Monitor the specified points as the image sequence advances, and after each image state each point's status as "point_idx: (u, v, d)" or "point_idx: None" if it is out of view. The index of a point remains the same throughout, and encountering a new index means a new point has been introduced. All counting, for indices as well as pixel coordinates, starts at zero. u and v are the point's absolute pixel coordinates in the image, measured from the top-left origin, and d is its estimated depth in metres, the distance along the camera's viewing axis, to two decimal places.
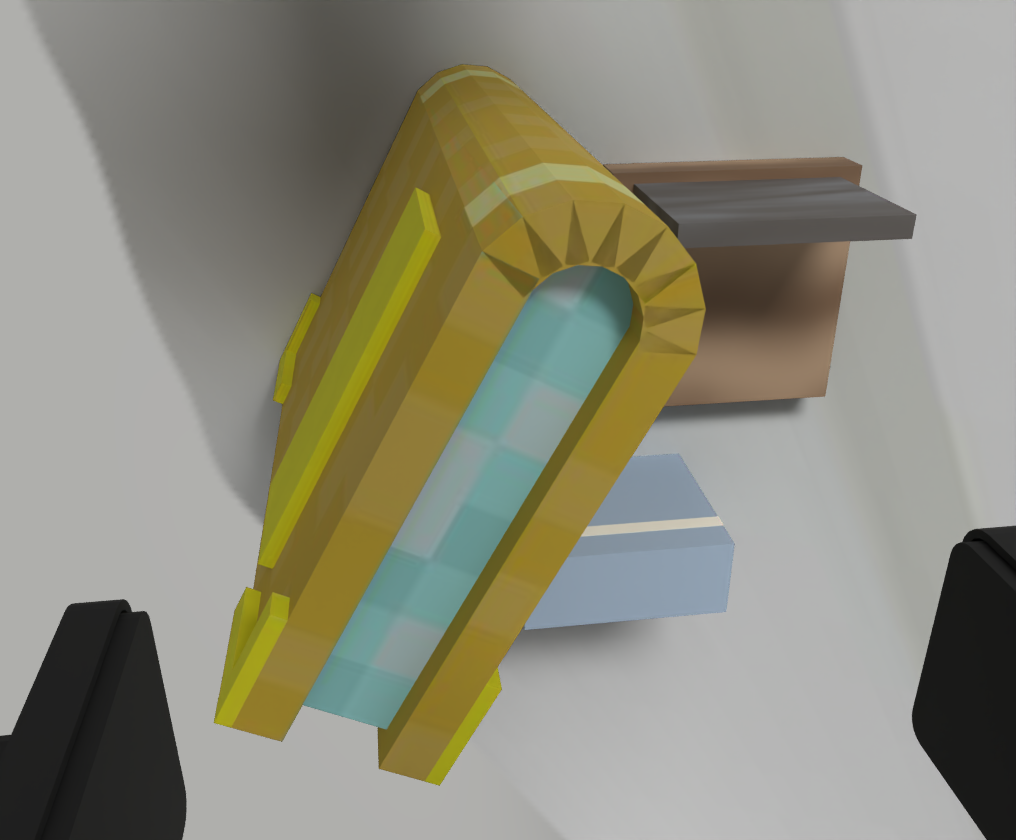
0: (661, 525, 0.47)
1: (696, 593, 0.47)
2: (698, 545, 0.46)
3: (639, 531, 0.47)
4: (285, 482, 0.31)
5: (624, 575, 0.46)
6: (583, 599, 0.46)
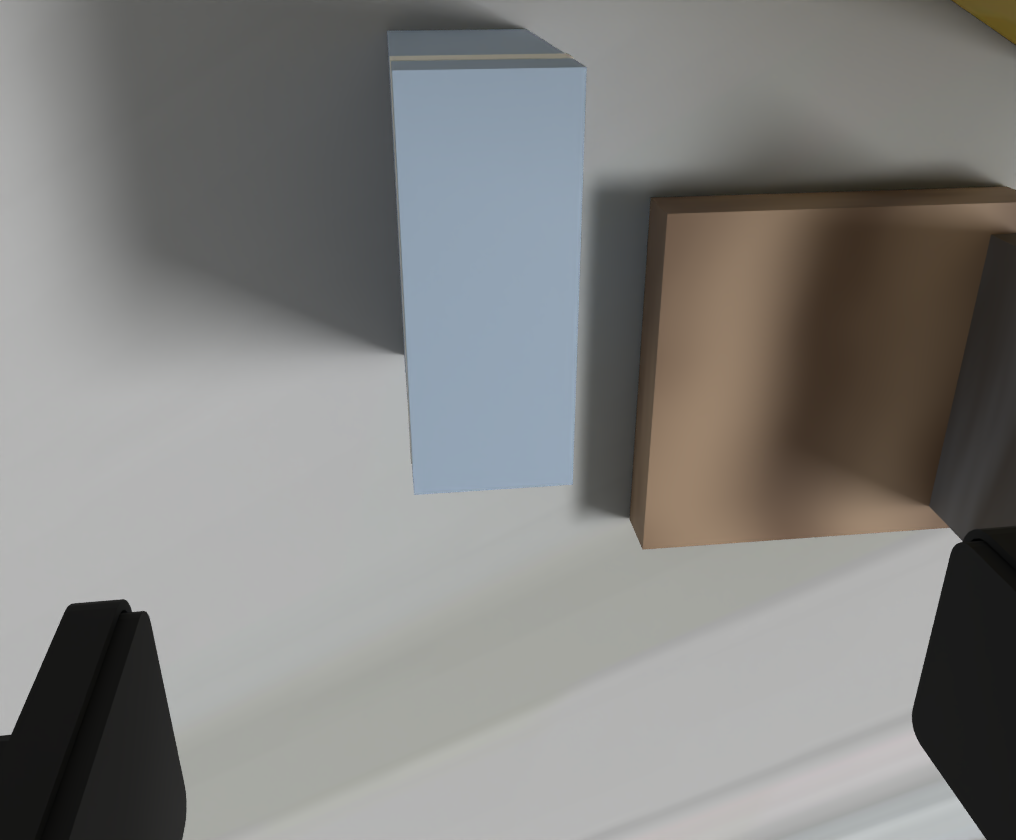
0: None
1: (463, 434, 0.23)
2: None
3: None
4: None
5: (522, 288, 0.22)
6: (468, 205, 0.21)
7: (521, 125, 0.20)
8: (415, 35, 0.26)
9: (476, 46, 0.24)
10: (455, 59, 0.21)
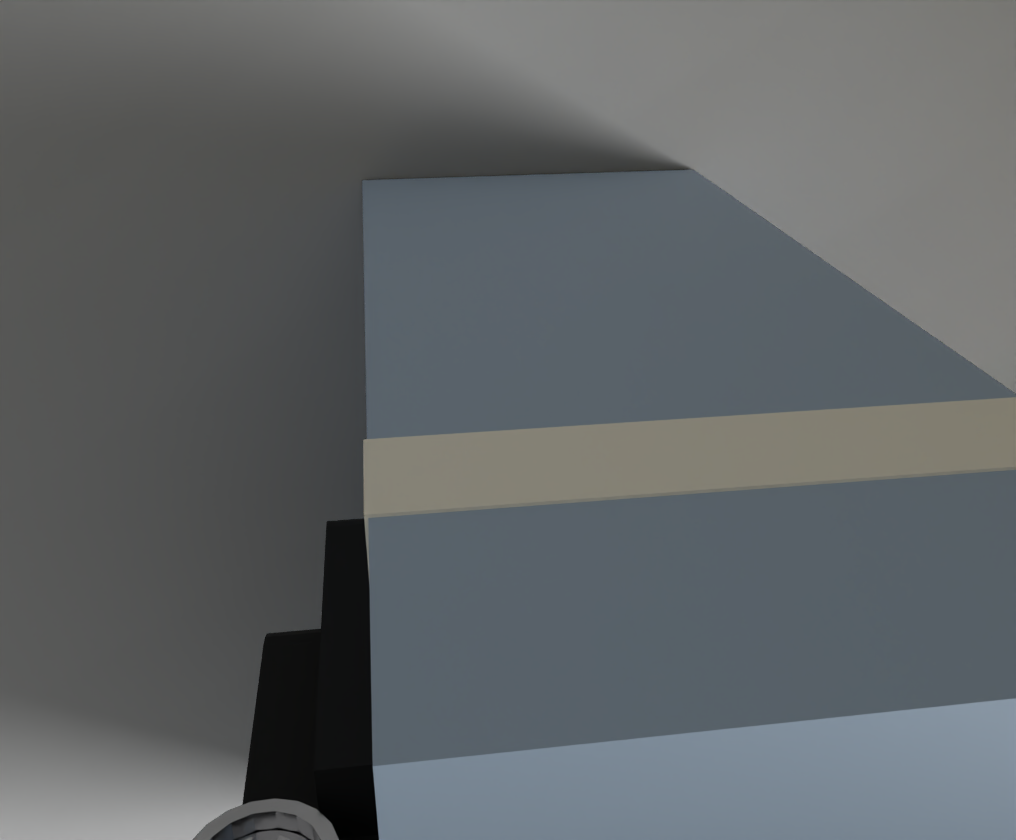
0: None
1: None
2: None
3: None
4: None
5: None
6: None
7: None
8: (436, 212, 0.10)
9: (641, 304, 0.07)
10: (646, 494, 0.05)
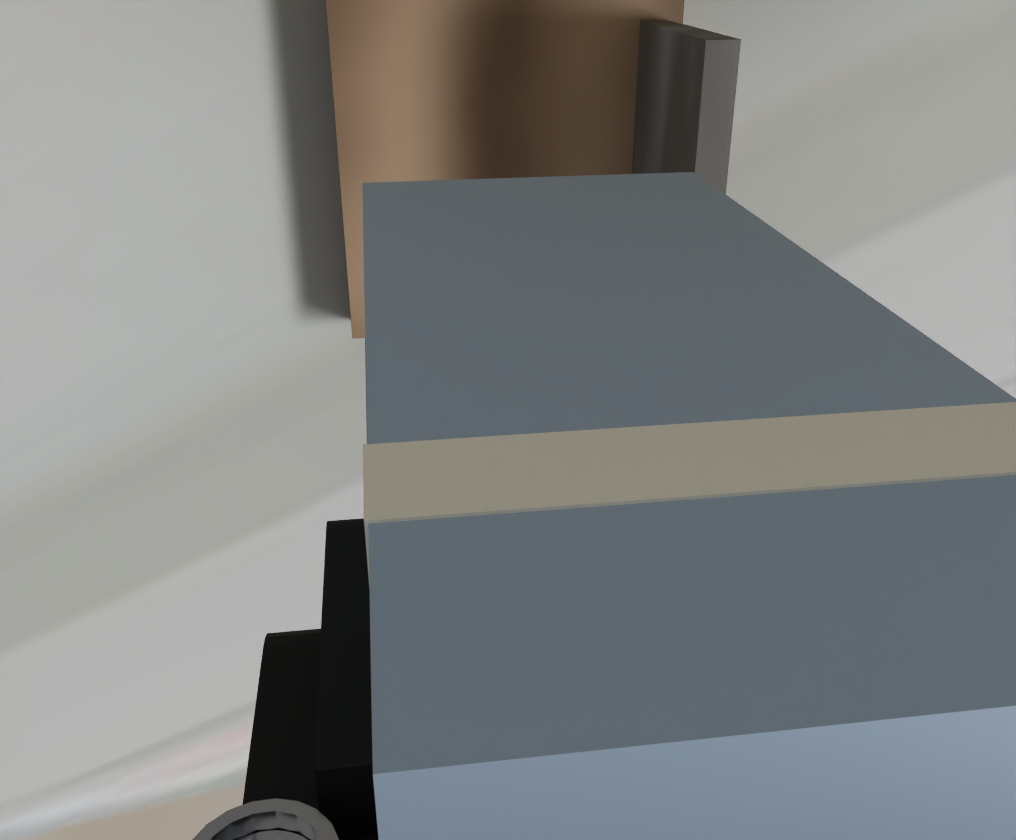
0: None
1: None
2: None
3: None
4: None
5: None
6: None
7: None
8: (436, 215, 0.10)
9: (641, 308, 0.07)
10: (646, 499, 0.05)
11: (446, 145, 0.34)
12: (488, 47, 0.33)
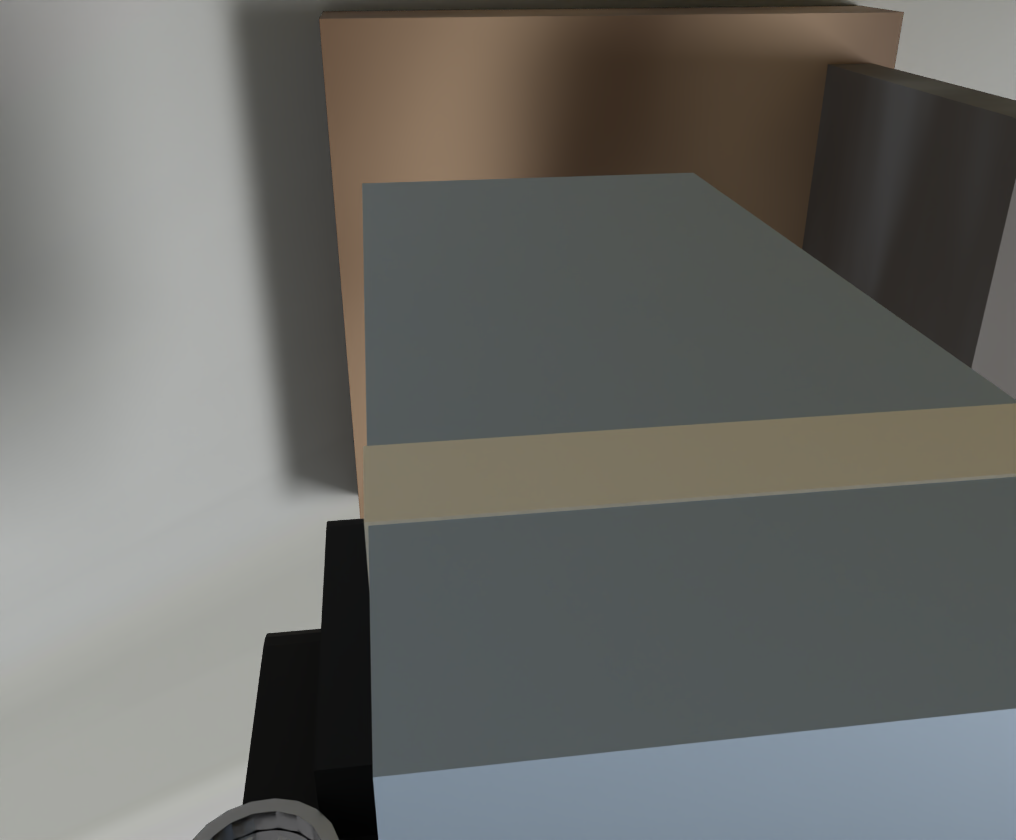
0: None
1: None
2: None
3: None
4: None
5: None
6: None
7: None
8: (436, 216, 0.10)
9: (641, 309, 0.07)
10: (646, 500, 0.05)
11: None
12: (584, 107, 0.20)
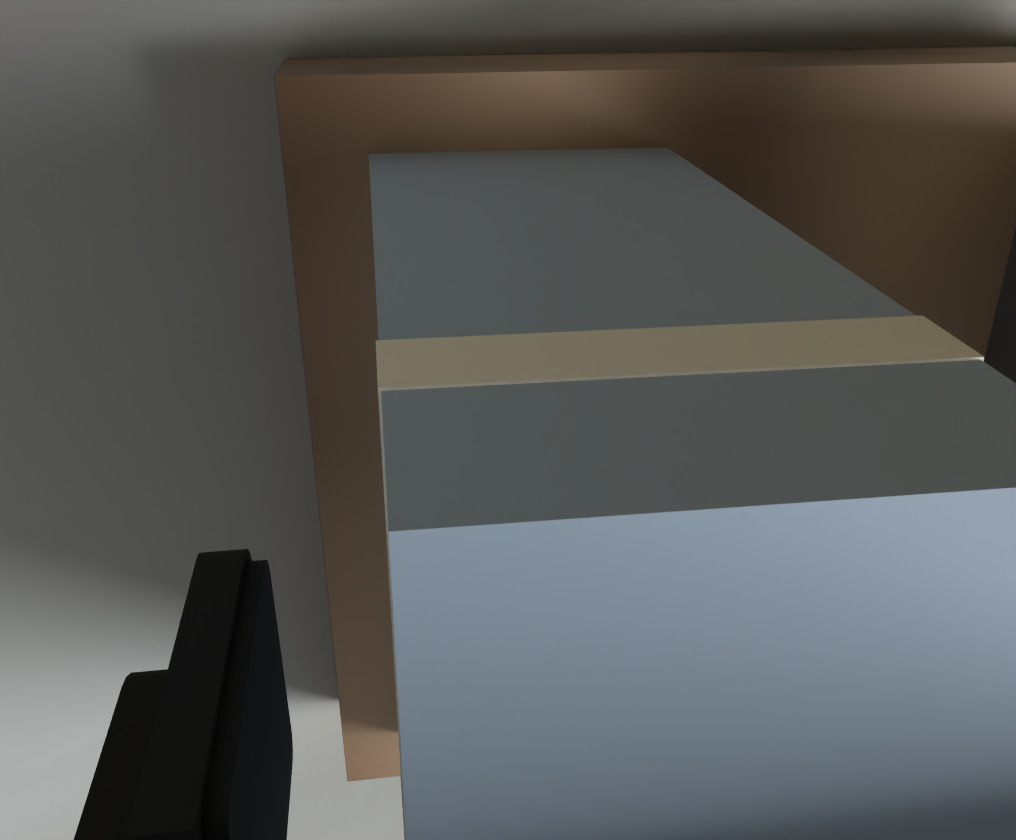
0: None
1: None
2: None
3: None
4: None
5: None
6: None
7: (874, 669, 0.05)
8: (435, 179, 0.11)
9: (611, 249, 0.09)
10: (602, 376, 0.06)
11: None
12: None
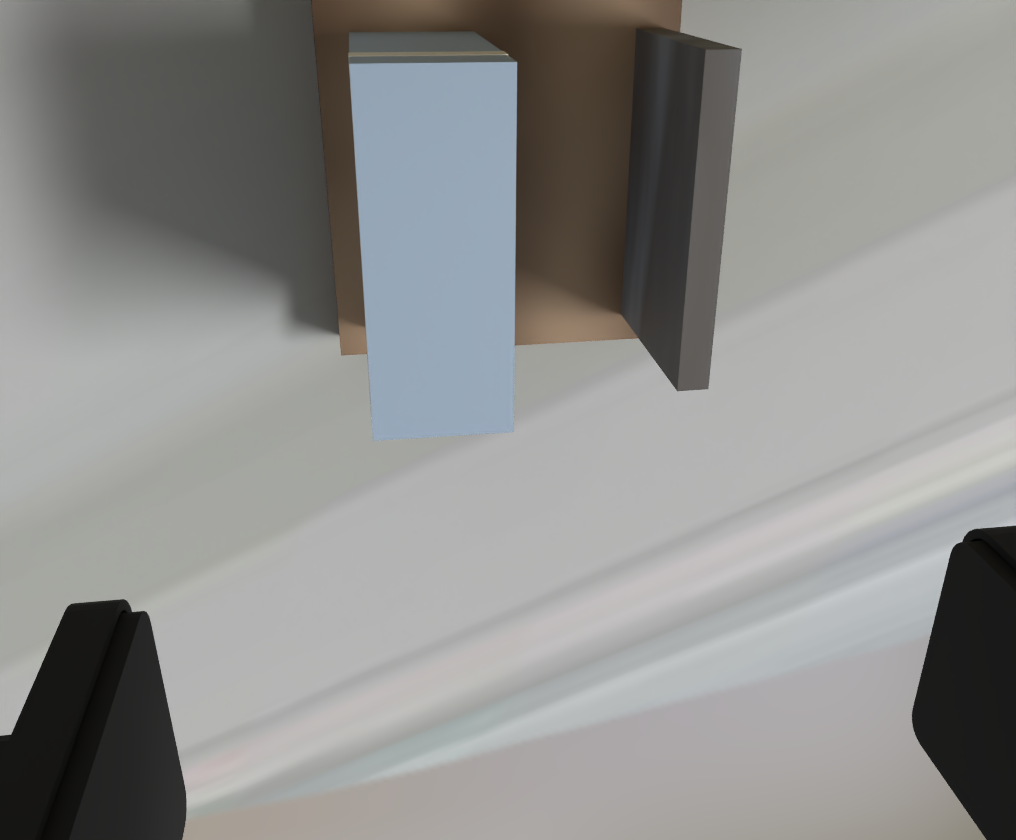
0: None
1: (416, 385, 0.27)
2: None
3: None
4: None
5: (465, 255, 0.25)
6: (417, 181, 0.24)
7: (462, 112, 0.24)
8: (373, 36, 0.29)
9: (426, 45, 0.27)
10: (405, 55, 0.24)
11: None
12: None
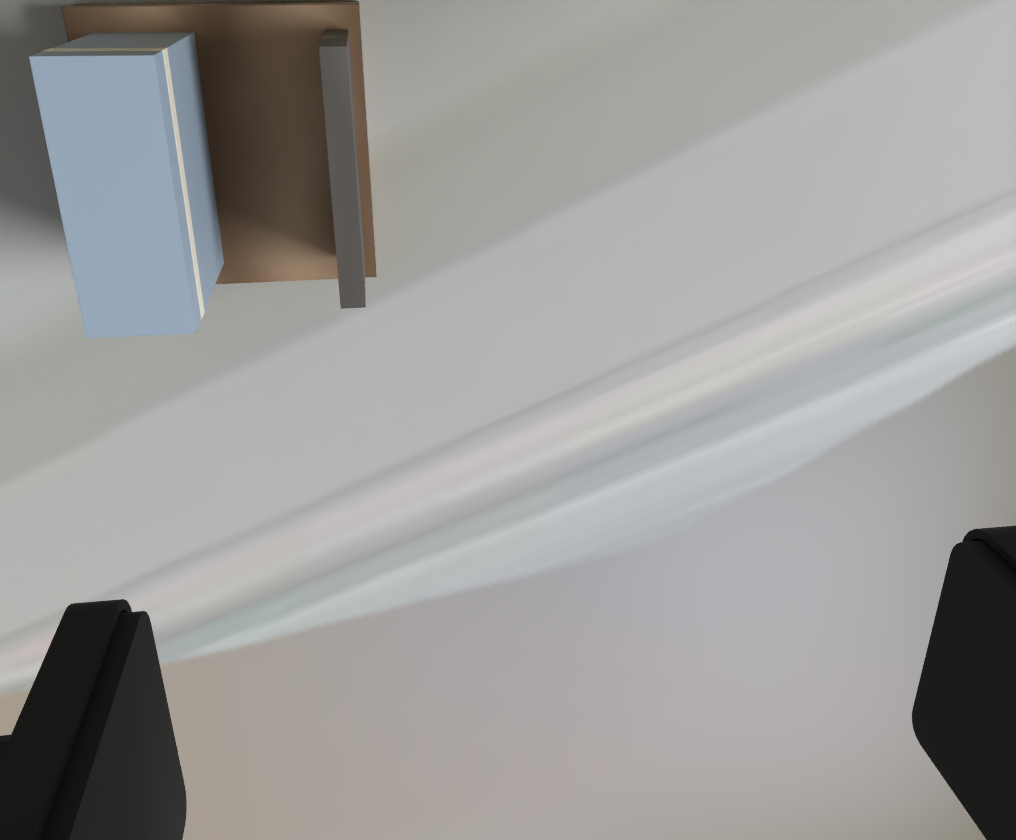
0: (192, 241, 0.37)
1: (113, 295, 0.36)
2: (187, 289, 0.36)
3: (186, 214, 0.37)
4: None
5: (137, 196, 0.34)
6: (91, 142, 0.33)
7: (118, 91, 0.33)
8: (104, 36, 0.39)
9: (124, 43, 0.36)
10: (85, 50, 0.34)
11: None
12: (201, 51, 0.41)
